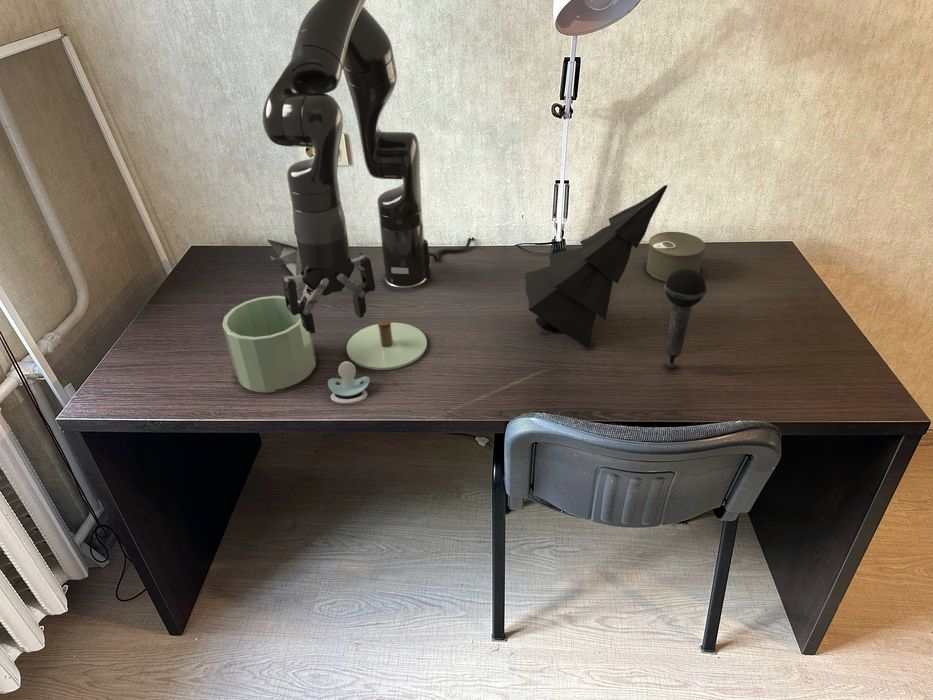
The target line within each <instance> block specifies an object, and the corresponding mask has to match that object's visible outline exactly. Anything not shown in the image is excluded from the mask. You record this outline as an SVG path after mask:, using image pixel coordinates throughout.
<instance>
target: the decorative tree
mask: <svg viewBox="0 0 933 700" xmlns="http://www.w3.org/2000/svg"><path fill="white" fill-rule="evenodd" d="M667 188H668V185H667V184H665V185H663V186H662V187H660V188H659V189H658V190H656V191H655V192H654V193H653V194H651V195H650V196H648V197H647V198H644V199H643V200H641V201H639V202H638V203H636V204H634V205H632V206H629V207H628V208H625V209H623V210H621V211H619V212H618V213H616V214H614V215H613V216H611V217H609V218H608V222H609V225H607V226H605V227H603V228H601V229H599V230H598V231H597V232H595V233H594V234H592V235H591V236H588V237H587V238H584V239H582V240H580V241H579V243H580V245H581V247H578V248H573V249H567V250H560V251H557V252H555V253H552V254H550V255H548V258H549V265H550V266H544V267H541V268H539V269H536V270H532V271H528V272H525V294H526V297H527V300H528V311H530V312H531V313H532V314H534V315H536V316H537V317H536V318H535V322H536V324H537V325H538V327H540V328H541V329H542V330H544V331H547V332H549V331H551V330H552V329H553V328H555V329H557V330H558V331H560V332H562V333H563V334H564V335H566V336H567V337H569V338H570V339H573V340H574V341H576V342H577V343H578V344H580V345H582V346H584V347H586V348H588V349H590V344H591V337H592V332H593V328H594V324H595V322H596V317H597V316H599V317H600V318H601V319H603V320H604V321H606V319H607V314H608V310H609V303H610V299H611V294H612V290H613V289H612V288H613V283H615V284H618V283H619V282H620V280H621V278H622V276H623V274H624V272H625V271H626V267H627V265H628V262H629V260H630V257H631V253H632V248H635V249H637V248H638V247H639V245H640V243H641V242H642V240H643V238H644V236H645V235H646V233H647V230H648V227H649V225H650V223H651V220H652V217H654V214H655V212H656V210H657V208H658V206H659V204H660V202H661V200H662V198H663V196H664V194H665V193H666V191H667Z"/></svg>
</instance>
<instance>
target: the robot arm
mask: <svg viewBox="0 0 933 700" xmlns="http://www.w3.org/2000/svg"><path fill="white" fill-rule="evenodd" d="M366 1H367V0H317V1H316V3H314V5H312V6H311V8H310V9H309V11H307V13H306V14H305V16H304V18H303V19H302V21H301V23H300V25H299V27H298V30H297V34H296V38H295V42H294V44H293V45H294V46H293V49H292V50H293V51H292V54H291V58H290V61H289V62H288V64H287V65H286V67H285V68H284V70H283V71H282V72H281V74H280V76H279V77H278V79H277V80H276V82H275V84H274V85H273V87H272V88H271V90H270V91H269V93H268V94H267V97H266V99H265V102H264V104H263V110H262V126H263V129H264V133H265V134H266V136H267V138H268V139H269V140H270V141H271V142H272V143H273V144H275V145H277V146H282V147H292V148H295V147H296V148H313V150H314V157H312V158H308V159H303V160H299V161H297V162H295V163H293V164H291V165H290V166H289V167H288V168H287V172H286V173H287V174H286V177H287V184H288V190H289V195H290V201H291V206H292V221H293V231H294V235H295V237H296V238H295V239H296V244H297V246H298V249H299V255H300V260H301V265H302V271H301V273H300V274H299V275H295V276H294V275H290V274H288V273H285V274H284V275H282V278H281V279H282V285H283V292H284V297H285V301H286V307H287V308H288V310H289V311H290V312H291V313H292V314H293V315H297V314H300V316H301V320H302V326H303V327H304V328H305V329H306V331H307V332H308V331H309V332H310V333H311V335H313V334H315V333H316V328H315V322H314V316H313V313H312V310H313V309H314V306H315V305H316V304H318V303H319V301H320V299H321V297H322V296H324V297H325V296H330V295H331V294H333V293H339V292H342V291H343V289H344V288H345V287H346V288H347V289H348V290H349V291H351V292H352V302H353V309H354V313H355V315H356V316H357V317H358V319H362V318H364V317H365V314H366V313H367V303H366V295H367V294H368V293H369V292H374V291H375V290H376V283H375V278H374V274H373V273H374V271H373V267H372V261H371V259H370V258H369V257H368V256H367V255H366V254H364V253H363V252H360V253H358V254H357V256H356V257H354V258H352V259H351V252H350V251H351V250H350V245H349V244H350V243H349V237H348V232H347V231H348V230H347V224H346V216H345V211H344V208H343V204H342V201H341V200H342V198H341V192H340V191H341V190H340V185H339V177H338V167H339V154H340V148H341V147H340V145H341V139H342V135H343V134H342V133H343V126H344V118H343V113H342V109H341V107H340V105H339V103H338V101H336V99H335V98H334V97H333V96H332V95H329V94H328V93H331V92H333V91H335V90H336V89H337V88H338V86H339V84H340V81H341V77H342V74H343V75H344V78H345V81H346V85H347V89H348V91H349V95H350V99H351V102H352V105H353V109H354V112H355V117H356V121H357V126H358V132H359V138H360V143H361V148H362V154H363V160H364V164H365V167H366V170H367V172H368V174H369V175H370V176H371V177H372V178H374V179H378V180H402V184H400V185H399V186H397V187H393V188H391V189H388V190H386V191H384V192H382V193H381V194H379V196H378V197H377V211H378V219H379V220H378V221H379V229H380V239H381V249H382V257H383V258H382V259H383V266H384V281H385V284H387V285H388V286H389V287H391V288H394V289H399V290H409V289H413V288H417V287H420V286H422V285H424V284H425V283H426V282H427V280H430V279H431V270H430V264H431V257H433V259H434V261H435V262H439V260H440V255H441V254H443V253H448V252H449V253H460V252H465V251H467V249H468V248H469V247H470V245H471V242H472V241H475V238H474V237H473V236H471V237H472V239H471V238H469V237H468V239H467V242H466V244H465V245H464V246H462V247H459V248H450V247H449V248H447V247H446V248H441V249H439V250H437V251H436V253H434V252H430V251H429V242H428V241H427V239H425V233H424V222H423V221H424V219H423V205H422V186H421V183H422V182H421V148H420V142H419V139H418V137H417V135H416V134H415V133H413V132H410V131H409V132H408V131H382V130H380V128H379V121H380V118H381V116H382V114H383V111H384V110H385V107H386V106H387V104H388V102H389V101H390V99H391V97H392V94H393V93H394V91H395V88H396V84H397V81H398V72H397V71H398V70H397V66H396V60H395V55H394V50H393V45H392V42H391V40H390V38H389V35H388V34H387V33H386V31H385V30H384V28H383V27H382V25H380V23H379V22H378V21H377V20H376V19H375V18H374V16H373V15H372V14H371V13H370V12H369V11H368V9H366V8H365V3H366ZM355 268H356V270H358V271H359V274H360V279H361V283H360V284H357V283H356V282H355V281H353V280H352V279H351V276H352V274H353V271H354V269H355ZM302 283H304V284H305V287H304V289H303V290H302V296H301V298H300V300H299V299H298V292H297V291H299V290H300V286H301V284H302ZM298 300H299V301H300V302H299V303H298Z"/></svg>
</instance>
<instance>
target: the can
mask: <svg viewBox="0 0 933 700" xmlns="http://www.w3.org/2000/svg"><path fill="white" fill-rule="evenodd" d="M648 245H649V246H648V254H647V260H646V272H647V273H648V274H649V276H651V277H652V278H654V279H656V280H658V281H662V282H666V281H667V279H668V277H669V276H670V275H671V274H672V273H673V272H675V271H676V270H679V269H682V268H689V269H693V270H696V271H697V272H698V273H700V270H701V267H702V261H703V256H704V252H705V250H706V243H705V242H704V241H703V239H701V238H700V237H698V236H697V235H693V234H691V233H687V232H683V231H662V232H659V233H656V234H654V235H652V236H651V237H650V238H649V240H648Z"/></svg>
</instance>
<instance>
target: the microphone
mask: <svg viewBox="0 0 933 700" xmlns="http://www.w3.org/2000/svg"><path fill="white" fill-rule="evenodd" d="M663 288H664V292H665V295H666V297H667V300H668V301H670V302H671V303H672V305H671V310H670V318H669V326H668V333H667V341H666V347H665V353H666V354H667V355H668V357H669V361H668V362H667V365H666V366H667V368H668V369H674V368H675V367H676V363H675V358H678V357H679V356H681V354H682V351H683V346H684V341H685V337H686V335H687V334H686V333H687V329H688V324H689V320H690V318H691V317H690V316H691V311H692V307H694V306H695V305H696V304H698V303H700V301H701V300H703V298H704V296H705V295H706V293H707V284H706V281H705V278H704V277H703V275H702V274H701V273H700V272H699V273H698V272H697V271H696V270H693V269H689V268H682V269H679V270H676V271H675V272H673V273H672V274H671V275H670V276H669V277H668V279H667V281H664V285H663Z"/></svg>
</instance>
